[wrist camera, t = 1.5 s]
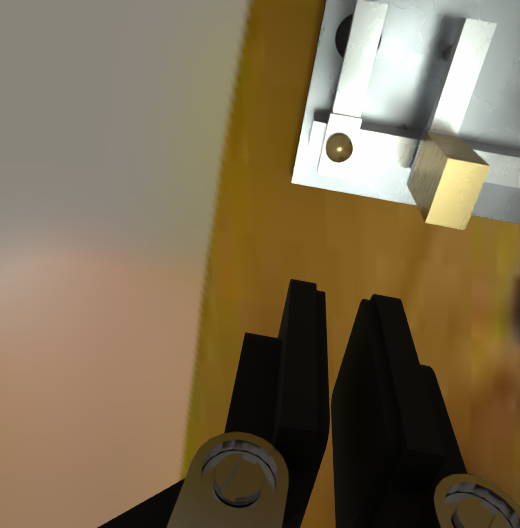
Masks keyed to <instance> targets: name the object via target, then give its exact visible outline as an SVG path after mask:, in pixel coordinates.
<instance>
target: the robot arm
mask: <svg viewBox="0 0 520 528" xmlns="http://www.w3.org/2000/svg"><path fill="white" fill-rule="evenodd" d="M331 419H332V444H333V468H334V492H335V517H336V528H520V505H519V504H518V503H517V502H516V501H515V500H514V499H513V498H512V497H511V496H510V495H509V494H508V493H507V492H505V491H504V490H502V489H501V488H500V487H498V486H497V485H495V484H493V483H491V482H489V481H487V480H485V479H483V478H481V477H477V476H473V475H469V474H467V471H466V468H465V465H464V462H463V459H462V456H461V453H460V450H459V447H458V444H457V440H456V437H455V434H454V431H453V428H452V425H451V422H450V419H449V416H448V413H447V410H446V406H445V403H444V400H443V397H442V394H441V391H440V388H439V385H438V382H437V379H436V375H435V373H434V371H433V369H432V368H431V367H430V366H426V365H420V363H419V360H418V356H417V353H416V349H415V346H414V342H413V339H412V336H411V332H410V329H409V325H408V322H407V318H406V315H405V311H404V308H403V304H402V301H401V299H398V298H393V297H387V296H382V295H376V294H373V295H372V297H371V299H370V300H366V299H362V301H361V303H360V306H359V309H358V312H357V315H356V318H355V322H354V325H353V328H352V331H351V335H350V338H349V341H348V344H347V348H346V351H345V354H344V357H343V360H342V364H341V367H340V370H339V373H338V377H337V380H336V383H335V386H334V390H333V394H332V400H331ZM329 426H330V409H329V382H328V355H327V328H326V301H325V292H323V291H317V286H316V283H311V282H305V281H300V280H294V279H291V280H290V284H289V288H288V293H287V298H286V302H285V307H284V312H283V316H282V321H281V326H280V330H279V335H278V338H273V337H268V336H262V335H257V334H252V333H246V332H245V336H244V341H243V346H242V351H241V355H240V360H239V365H238V370H237V375H236V379H235V384H234V389H233V394H232V399H231V403H230V408H229V413H228V418H227V423H226V428H225V432H224V433H222V434H220V435H218V436H215V437H213V438H211V439H209V440H208V441H207V442H205V443H204V444H203V445H202V446H201V447H200V448H199V449H198V451H197V453H196V454H195V456H194V458H193V460H192V462H191V465H190V467H189V470H188V473H187V475H186V478H185V479H183V480H181V481H179V482H178V483H176V484H174V485H172V486H170V487H169V488H167V489H165V490H163V491H162V492H160V493H158V494H156V495H155V496H153V497H151V498H149V499H147V500H146V501H144V502H142V503H140V504H139V505H137V506H135V507H133V508H132V509H130V510H128V511H126V512H124V513H123V514H121V515H119V516H117V517H116V518H114V519H112V520H110V521H109V522H107V523H105V524H103V525H101V526H100V527H98V528H300V526H301V523H302V520H303V517H304V514H305V511H306V508H307V504H308V501H309V498H310V495H311V492H312V489H313V486H314V483H315V480H316V477H317V474H318V471H319V468H320V465H321V461H322V458H323V455H324V452H325V449H326V445H327V441H328V435H329Z"/></svg>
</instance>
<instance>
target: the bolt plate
mask: <svg viewBox="0 0 520 528" xmlns="http://www.w3.org/2000/svg"><path fill="white" fill-rule="evenodd" d="M462 18H468V19H474V20H479V21H485V22H491V23H497V25H496V28H495V31H494V34H493V37H492V39H491V42H490V45H489V48H488V51H487V53H486V56H485V59H484V62H483V65H482V67H481V70H480V73H479V76H478V79H477V81H476V84H475V87H474V90H473V93H472V96H471V98H470V101H469V104H468V107H467V110H466V112H465V115H464V118H463V121H462V124H461V126H460V129H459V132H458V135H459V136H460V139H462V140H463V141H464V142H466V143H467V144H468V145H469V146H470V147H471V148H472V149H473V150H474V151H475V152H476V153H477V154H478V155H479V156H480V157H481V158H482V159H484V160H485V161H486V162H487V163H488V164H489V165H490V168H489V171H488V173H487V176H486V178H485V181H484V183H483V186H482V188H481V191H480V193H479V195H478V198H477V200H476V203H475V205H474V208H473V210H472V213H471V215H474V216H479V217H485V218H490V219H496V220H501V221H507V222H513V223H518V224H520V0H326V4H325V9H324V15H323V20H322V25H321V30H320V35H319V40H318V46H317V51H316V56H315V61H314V66H313V72H312V77H311V82H310V87H309V92H308V98H307V103H306V108H305V113H304V118H303V124H302V129H301V134H300V139H299V144H298V149H297V155H296V160H295V165H294V170H293V175H292V183H295V184H301V185H306V186H312V187H318V188H323V189H329V190H334V191H340V192H345V193H351V194H357V195H362V196H368V197H373V198H379V199H384V200H390V201H396V202H401V203H407V204H412V205H416V203H415V201H414V199H413V197H412V195H411V193H410V191H409V189H408V186H407V181H408V177H409V174H410V171H411V168H412V165H413V162H414V159H415V156H416V152H417V149H418V146H419V143H420V140H421V137H422V134H423V130H424V127H425V126H426V127H427V124H428V121H429V118H430V115H431V112H432V109H433V106H434V103H435V99H436V96H437V93H438V90H439V87H440V84H441V81H442V78H443V75H444V71H445V68H446V65H447V61H446V59H445V54H446V51H447V50H448V49H449V48H451V47H453V43H454V40H455V37H456V34H457V31H458V28H459V25H460V22H461V19H462Z"/></svg>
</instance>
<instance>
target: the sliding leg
mask: <svg viewBox="0 0 520 528" xmlns="http://www.w3.org/2000/svg"><path fill="white" fill-rule="evenodd" d="M496 25H497V23H491V22H485V21H479V20H474V19H468V18H462V19H461V22H460V25H459V28H458V31H457V34H456V37H455V40H454V43H453V47H451V48H449V49H448V50H447V51H446V54H445V59H446V61H447V65H446V68H445V71H444V75H443V78H442V81H441V84H440V87H439V90H438V93H437V96H436V99H435V103H434V106H433V109H432V112H431V115H430V118H429V121H428V124H427V127H426V126H425V127H424V130H423V134H422V137H421V140H420V143H419V146H418V149H417V152H416V156H415V159H414V162H413V165H412V168H411V171H410V174H409V177H408V181H407V186H408V189H409V191H410V193H411V195H412V197H413V199H414V201H415V203H416V205H417V207H418V209H419V211H420V213H421V215H422V217H423V219H424V221H425V223H430V224H436V225H441V226H447V227H452V228H458V229H463V230H465V228H466V225H467V223H468V220H469V218H470V215H471V213H472V210H473V208H474V205H475V203H476V200H477V198H478V195H479V193H480V191H481V188H482V186H483V183H484V181H485V178H486V176H487V173H488V171H489V168H490V165H489V164H488V163H487V162H486V161H485V160H484V159H482V158H481V157H480V156H479V155H478V154H477V153H476V152H475V151H474V150H473V149H472V148H471V147H470V146H469V145H468V144H467V143H466V142H464V141H463V140H462V139H460V136H459V135H458V132H459V129H460V126H461V124H462V121H463V118H464V115H465V112H466V110H467V107H468V104H469V101H470V98H471V96H472V93H473V90H474V87H475V84H476V81H477V79H478V76H479V73H480V70H481V67H482V65H483V62H484V59H485V56H486V53H487V51H488V48H489V45H490V42H491V39H492V37H493V34H494V31H495V28H496Z"/></svg>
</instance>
